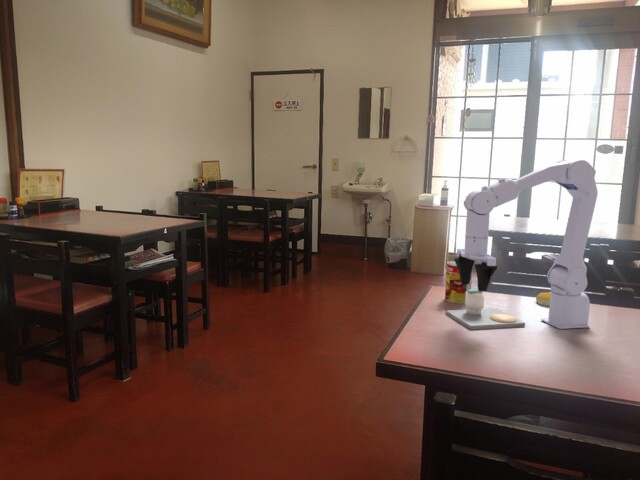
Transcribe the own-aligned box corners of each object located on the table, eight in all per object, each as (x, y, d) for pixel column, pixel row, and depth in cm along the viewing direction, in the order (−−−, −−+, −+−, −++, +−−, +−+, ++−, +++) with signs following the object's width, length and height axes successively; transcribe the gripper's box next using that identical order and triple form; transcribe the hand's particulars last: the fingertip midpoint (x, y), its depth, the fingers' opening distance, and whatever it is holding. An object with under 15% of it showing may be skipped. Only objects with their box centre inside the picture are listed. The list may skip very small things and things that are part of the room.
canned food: (446, 296, 162) (448, 260, 160) (471, 298, 159) (473, 262, 158) (443, 302, 155) (445, 264, 153) (469, 304, 152) (472, 266, 150)
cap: (477, 303, 142) (478, 287, 141) (486, 308, 137) (488, 292, 137) (461, 304, 141) (462, 288, 140) (470, 309, 136) (471, 292, 136)
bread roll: (530, 302, 157) (531, 289, 157) (553, 300, 160) (554, 288, 160) (549, 309, 150) (550, 296, 149) (573, 307, 152) (574, 294, 152)
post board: (495, 311, 146) (496, 301, 145) (524, 326, 132) (525, 315, 132) (445, 313, 142) (446, 303, 142) (470, 329, 129) (471, 318, 128)
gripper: (448, 233, 135) (445, 282, 137) (480, 241, 122) (477, 295, 124) (470, 232, 138) (467, 280, 140) (504, 240, 124) (500, 293, 126)
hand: (473, 287), depth 132 cm, fingers open, 7 cm apart
